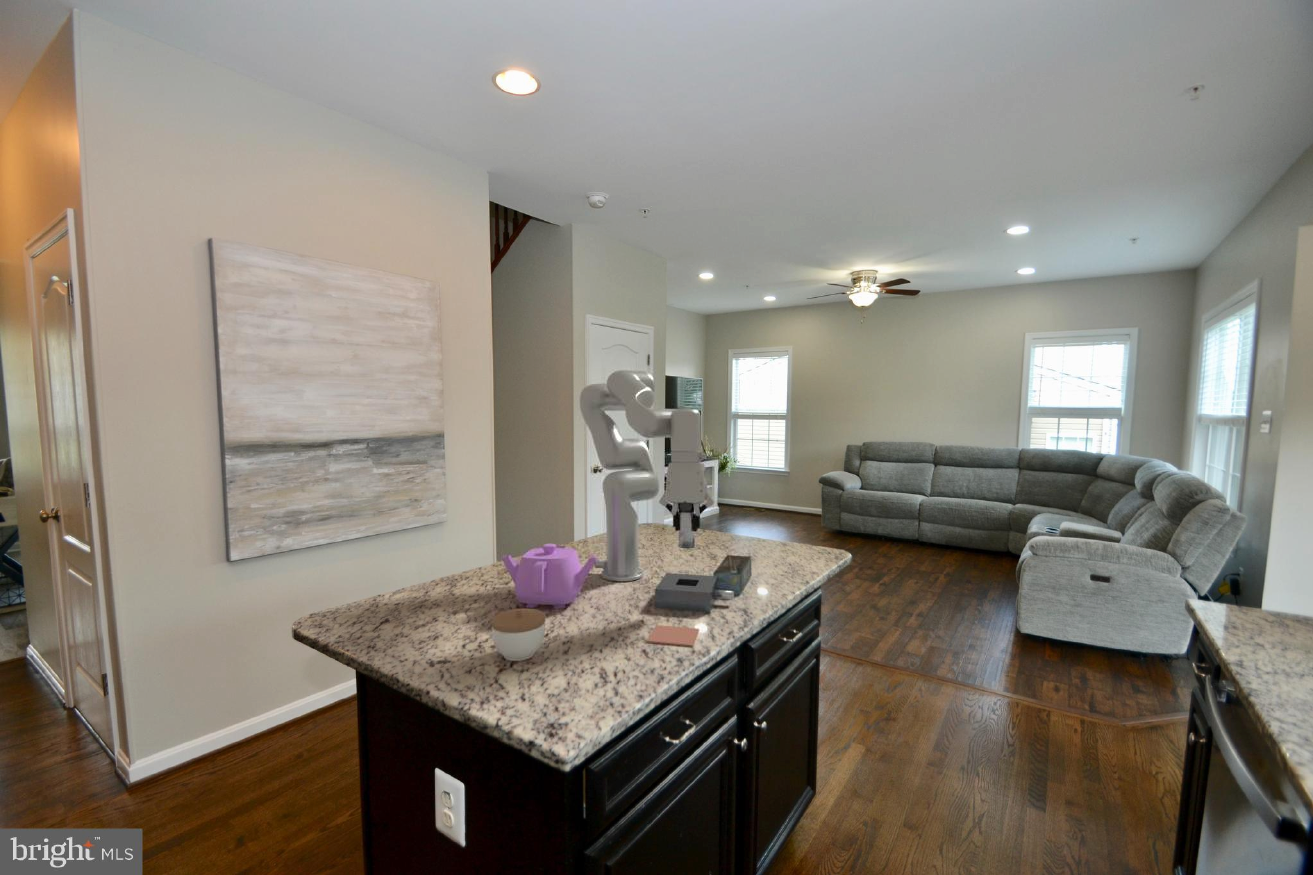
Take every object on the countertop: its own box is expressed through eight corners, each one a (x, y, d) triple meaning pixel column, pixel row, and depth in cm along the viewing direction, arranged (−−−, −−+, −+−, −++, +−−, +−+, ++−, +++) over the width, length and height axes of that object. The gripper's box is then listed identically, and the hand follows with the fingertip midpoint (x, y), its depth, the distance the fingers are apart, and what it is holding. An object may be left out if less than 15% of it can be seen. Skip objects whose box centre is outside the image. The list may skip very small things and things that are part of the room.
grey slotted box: (655, 608, 142) (655, 588, 142) (666, 590, 156) (666, 573, 155) (730, 614, 138) (730, 594, 137) (736, 595, 151) (736, 577, 151)
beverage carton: (711, 593, 154) (711, 569, 154) (726, 574, 172) (726, 552, 172) (740, 596, 151) (740, 572, 151) (752, 576, 170) (752, 554, 169)
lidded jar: (524, 639, 123) (523, 597, 123) (556, 652, 116) (556, 608, 116) (481, 656, 115) (480, 611, 114) (513, 671, 108) (512, 623, 108)
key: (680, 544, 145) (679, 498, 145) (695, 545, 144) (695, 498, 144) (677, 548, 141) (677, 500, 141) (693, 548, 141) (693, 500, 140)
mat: (646, 642, 121) (646, 640, 121) (656, 626, 130) (656, 624, 130) (692, 646, 119) (692, 644, 119) (699, 630, 128) (699, 628, 128)
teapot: (600, 602, 146) (599, 545, 146) (538, 620, 134) (537, 557, 133) (559, 585, 161) (559, 533, 160) (500, 600, 148) (499, 543, 148)
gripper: (720, 457, 144) (721, 528, 145) (656, 457, 148) (657, 526, 148) (717, 459, 137) (718, 534, 137) (650, 459, 140) (651, 532, 141)
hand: (686, 529), depth 143 cm, fingers closed on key, 4 cm apart
